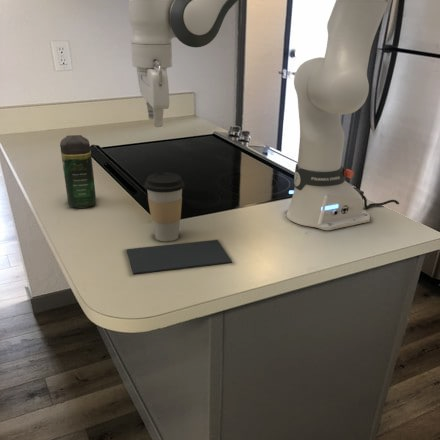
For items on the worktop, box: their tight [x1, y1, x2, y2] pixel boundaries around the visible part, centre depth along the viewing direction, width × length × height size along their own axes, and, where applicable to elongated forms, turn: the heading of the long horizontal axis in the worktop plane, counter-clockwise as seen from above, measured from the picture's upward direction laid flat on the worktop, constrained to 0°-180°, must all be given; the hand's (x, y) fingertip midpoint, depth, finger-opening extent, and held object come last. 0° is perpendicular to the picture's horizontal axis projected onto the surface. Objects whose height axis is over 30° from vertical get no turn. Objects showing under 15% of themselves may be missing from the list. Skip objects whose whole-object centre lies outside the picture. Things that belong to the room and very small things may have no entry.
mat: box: [126, 239, 233, 275], centre depth 111 cm, size 22×12×1 cm, turn 106°
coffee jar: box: [59, 134, 97, 209], centre depth 135 cm, size 10×8×19 cm
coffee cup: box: [143, 172, 185, 242], centre depth 117 cm, size 9×9×15 cm
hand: (155, 122), depth 115 cm, fingers open, 7 cm apart
